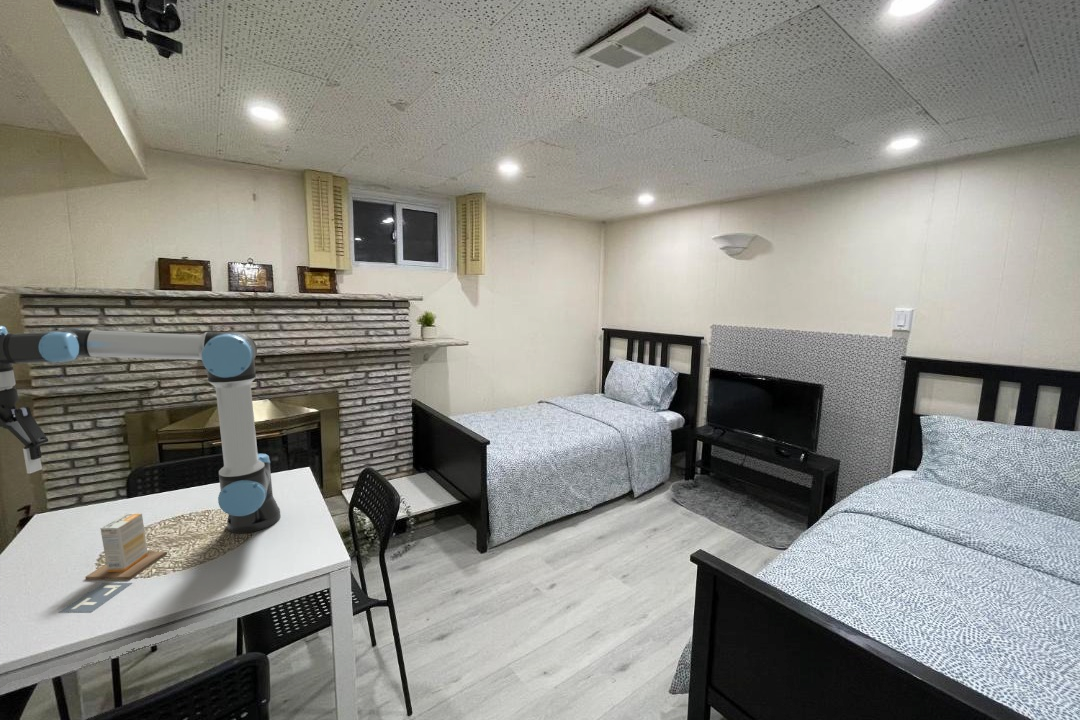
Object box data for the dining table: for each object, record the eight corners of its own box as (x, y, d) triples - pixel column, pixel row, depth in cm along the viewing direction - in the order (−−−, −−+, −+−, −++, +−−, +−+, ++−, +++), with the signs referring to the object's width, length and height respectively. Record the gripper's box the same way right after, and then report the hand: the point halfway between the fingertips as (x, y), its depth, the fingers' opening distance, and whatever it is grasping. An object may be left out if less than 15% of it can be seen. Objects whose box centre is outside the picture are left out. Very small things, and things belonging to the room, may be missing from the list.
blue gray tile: (132, 583, 119) (132, 582, 119) (91, 612, 108) (91, 611, 108) (102, 583, 119) (102, 582, 119) (58, 612, 108) (58, 611, 108)
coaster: (166, 554, 133) (166, 551, 133) (130, 579, 121) (129, 576, 121) (126, 553, 133) (126, 551, 133) (85, 579, 121) (85, 576, 121)
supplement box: (131, 555, 131) (125, 513, 129) (148, 554, 131) (143, 512, 129) (105, 572, 122) (99, 527, 121) (124, 572, 123) (117, 527, 121)
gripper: (59, 385, 114) (72, 465, 117) (-38, 385, 114) (-23, 465, 117) (26, 392, 106) (40, 477, 110) (-79, 392, 107) (-61, 477, 110)
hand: (7, 471), depth 113 cm, fingers open, 13 cm apart
